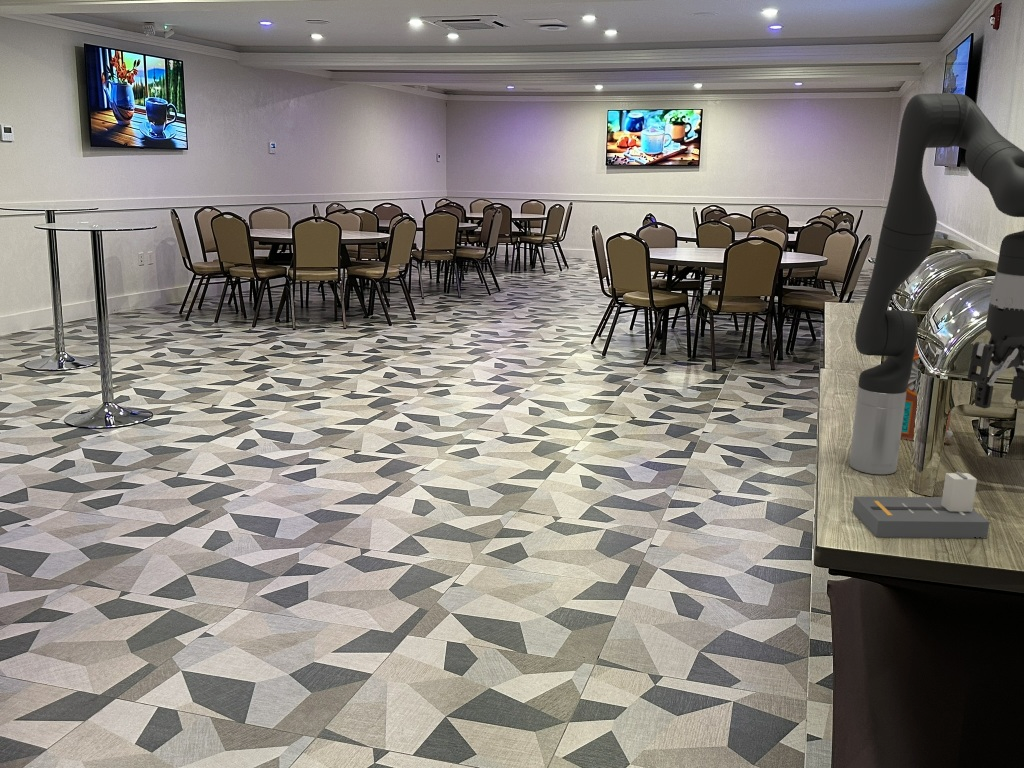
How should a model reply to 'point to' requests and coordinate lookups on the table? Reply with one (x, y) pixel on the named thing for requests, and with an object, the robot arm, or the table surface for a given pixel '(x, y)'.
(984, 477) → the table surface
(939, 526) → the console
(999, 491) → the table surface
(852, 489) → the table surface
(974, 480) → the fader
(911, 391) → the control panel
